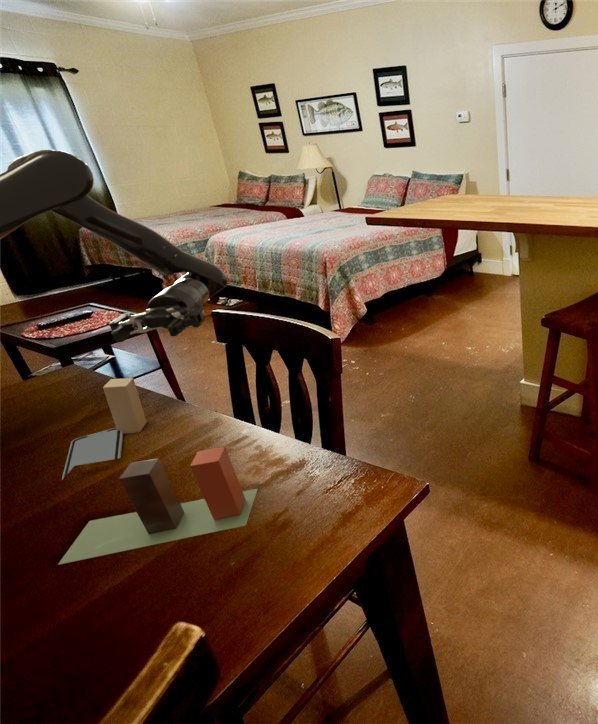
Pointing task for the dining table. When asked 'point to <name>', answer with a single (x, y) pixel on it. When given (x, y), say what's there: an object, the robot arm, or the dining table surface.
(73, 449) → the smartphone
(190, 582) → the dining table surface
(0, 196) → the robot arm
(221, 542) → the dining table surface
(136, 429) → the cream rectangular prism
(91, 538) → the pale green strip
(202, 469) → the tall red brick
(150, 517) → the tall brown brick
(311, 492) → the dining table surface
